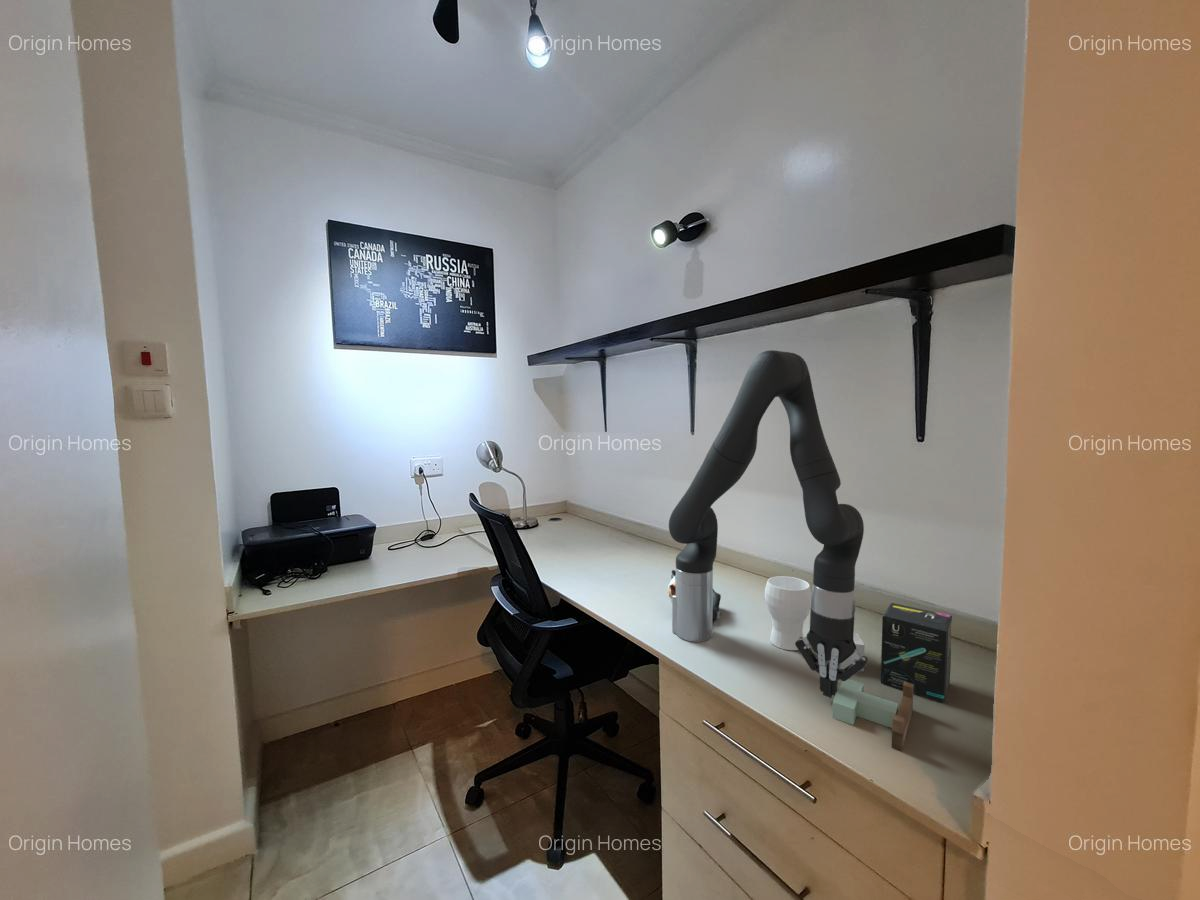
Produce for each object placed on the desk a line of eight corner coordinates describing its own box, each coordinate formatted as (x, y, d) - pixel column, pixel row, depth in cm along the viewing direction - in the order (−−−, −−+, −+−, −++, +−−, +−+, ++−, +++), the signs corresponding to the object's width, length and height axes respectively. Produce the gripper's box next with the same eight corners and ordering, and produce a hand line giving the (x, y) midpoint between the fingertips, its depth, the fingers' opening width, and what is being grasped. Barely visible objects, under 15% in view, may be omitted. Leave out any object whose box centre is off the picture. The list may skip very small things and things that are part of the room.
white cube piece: (827, 654, 107) (828, 629, 107) (856, 657, 106) (856, 632, 105) (833, 668, 101) (834, 641, 101) (863, 671, 100) (864, 644, 100)
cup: (807, 635, 116) (808, 577, 115) (814, 656, 106) (816, 593, 105) (762, 630, 119) (763, 573, 118) (765, 650, 109) (766, 588, 108)
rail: (891, 747, 77) (892, 718, 77) (903, 706, 88) (904, 681, 87) (902, 751, 76) (903, 722, 76) (912, 709, 87) (913, 684, 86)
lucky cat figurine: (718, 628, 120) (694, 585, 118) (678, 636, 126) (654, 595, 124) (726, 592, 133) (704, 553, 131) (689, 601, 139) (667, 563, 137)
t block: (832, 717, 85) (832, 701, 85) (843, 691, 93) (843, 677, 92) (892, 739, 79) (893, 722, 79) (899, 710, 87) (900, 694, 87)
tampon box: (950, 683, 95) (953, 614, 94) (945, 704, 88) (948, 630, 87) (888, 665, 102) (890, 600, 101) (879, 683, 95) (881, 614, 94)
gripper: (790, 605, 90) (787, 690, 91) (867, 626, 81) (862, 719, 83) (802, 593, 95) (798, 674, 97) (875, 611, 87) (870, 699, 88)
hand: (828, 694), depth 90 cm, fingers closed
